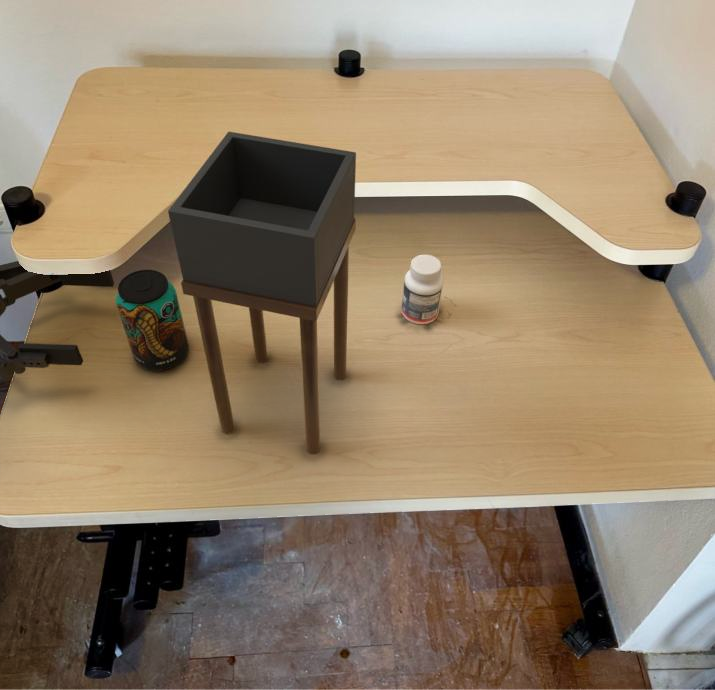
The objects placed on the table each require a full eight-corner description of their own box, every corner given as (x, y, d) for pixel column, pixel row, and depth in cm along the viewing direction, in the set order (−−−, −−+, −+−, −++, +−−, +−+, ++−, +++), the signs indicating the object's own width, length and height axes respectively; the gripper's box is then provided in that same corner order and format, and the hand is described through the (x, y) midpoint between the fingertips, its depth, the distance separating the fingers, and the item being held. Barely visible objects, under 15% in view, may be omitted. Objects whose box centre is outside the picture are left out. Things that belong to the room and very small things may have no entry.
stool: (320, 459, 77) (316, 309, 59) (214, 434, 79) (180, 282, 61) (351, 370, 86) (355, 218, 69) (256, 349, 88) (236, 196, 71)
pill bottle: (406, 295, 96) (411, 247, 90) (441, 303, 95) (449, 255, 89) (397, 320, 93) (402, 272, 86) (434, 329, 92) (441, 280, 85)
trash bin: (316, 307, 60) (314, 237, 54) (182, 280, 62) (167, 210, 56) (354, 219, 69) (356, 152, 63) (236, 198, 70) (228, 131, 65)
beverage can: (139, 380, 84) (117, 312, 75) (130, 342, 89) (107, 273, 80) (195, 365, 86) (179, 297, 77) (183, 328, 91) (166, 260, 82)
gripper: (-24, 265, 94) (128, 270, 94) (-113, 407, 77) (73, 413, 77) (-46, 221, 88) (115, 227, 88) (-147, 364, 71) (53, 371, 71)
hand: (96, 314), depth 82 cm, fingers open, 13 cm apart
